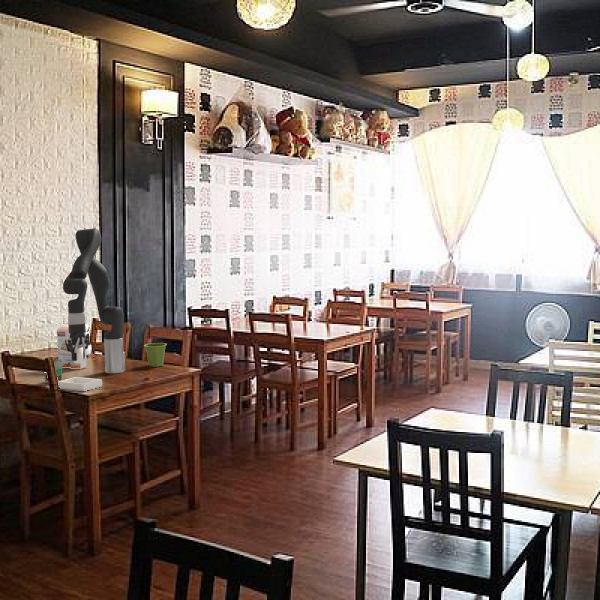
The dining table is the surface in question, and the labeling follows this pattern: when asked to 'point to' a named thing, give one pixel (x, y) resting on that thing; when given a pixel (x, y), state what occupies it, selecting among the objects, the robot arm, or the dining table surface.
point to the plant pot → (155, 353)
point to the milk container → (88, 351)
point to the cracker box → (62, 350)
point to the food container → (58, 369)
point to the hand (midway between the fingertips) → (78, 359)
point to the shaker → (79, 354)
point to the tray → (80, 383)
